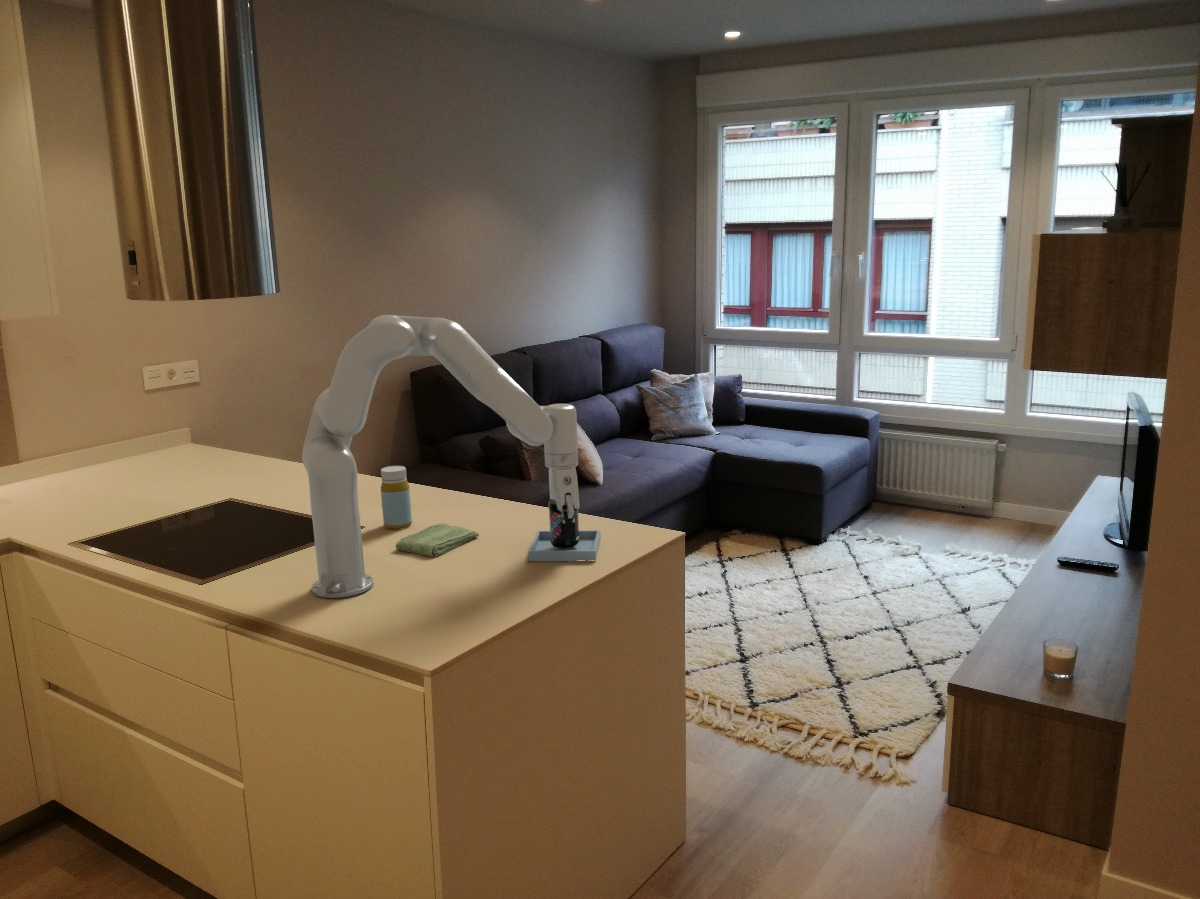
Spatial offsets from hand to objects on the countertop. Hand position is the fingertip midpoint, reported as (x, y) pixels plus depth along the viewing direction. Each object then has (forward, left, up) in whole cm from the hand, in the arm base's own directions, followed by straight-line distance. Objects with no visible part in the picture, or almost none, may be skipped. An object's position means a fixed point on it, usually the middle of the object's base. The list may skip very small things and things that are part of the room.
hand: (564, 533), depth 227 cm
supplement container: (0, 0, -3) cm, 3 cm away
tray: (0, 0, -4) cm, 4 cm away
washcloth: (+6, +31, -5) cm, 32 cm away
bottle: (+20, +45, -4) cm, 49 cm away
